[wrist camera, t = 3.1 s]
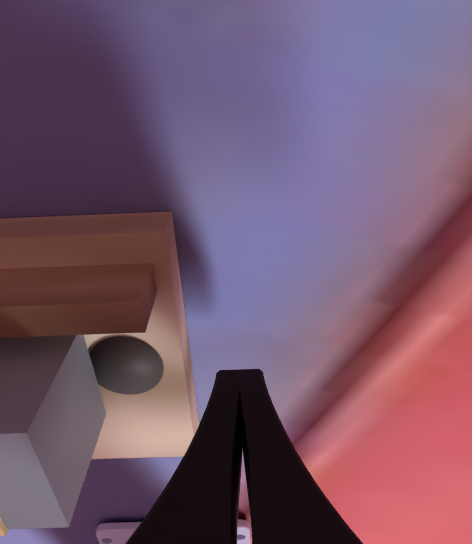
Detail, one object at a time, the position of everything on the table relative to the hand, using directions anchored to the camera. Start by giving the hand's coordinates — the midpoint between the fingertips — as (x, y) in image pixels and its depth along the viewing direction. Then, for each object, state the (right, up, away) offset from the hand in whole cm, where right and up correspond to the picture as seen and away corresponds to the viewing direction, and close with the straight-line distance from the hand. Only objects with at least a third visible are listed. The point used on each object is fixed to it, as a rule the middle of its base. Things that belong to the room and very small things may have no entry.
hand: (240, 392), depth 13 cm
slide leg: (-7, 0, +1) cm, 7 cm away
